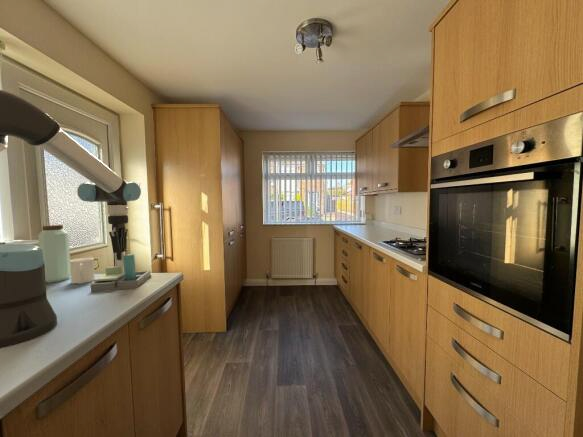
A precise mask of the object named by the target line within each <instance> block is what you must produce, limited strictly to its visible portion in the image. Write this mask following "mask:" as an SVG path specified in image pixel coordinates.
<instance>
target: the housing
mask: <svg viewBox="0 0 583 437" xmlns="http://www.w3.org/2000/svg"><path fill="white" fill-rule="evenodd" d="M150 276H151V277H152V274H151V270H142V271H136V279H137V280H129V281H125V275H124V276H122V277H121V278H119V279H117V280H109V281H95V282H94V281H93V283H92V282H91V284H90V292H91V293H93V292H108V291H119V290H121V291H122V290H131V289H132V290H133V289H138V288H139V286H141V285H142V284H144V283H145V282H146V281H147V280H148V279H149V278H150ZM144 281H145V282H144Z"/></svg>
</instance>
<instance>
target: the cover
mask: <svg viewBox="0 0 583 437" xmlns="http://www.w3.org/2000/svg"><path fill="white" fill-rule="evenodd" d="M123 269H124V267H122V266H118V267H117V266H106V267H105V273H104V274H102V275H100V276H98V277H95V279H94V280H93V283H94V282H96V281H109V280H117V279H119V278H121V277H122V276H124V275H125V272H123Z"/></svg>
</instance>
